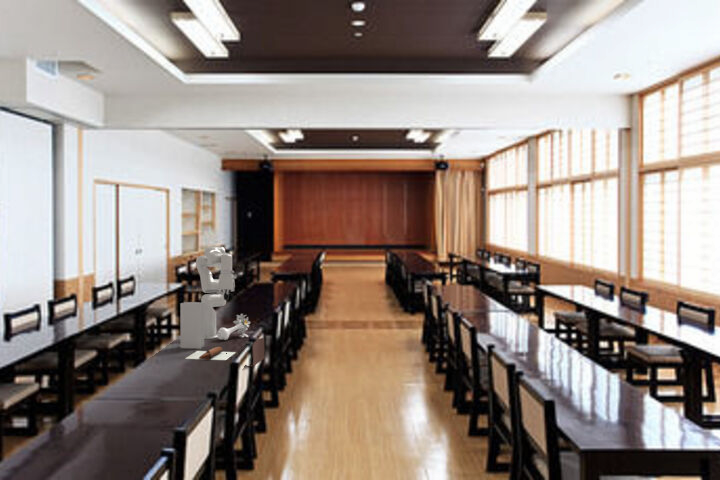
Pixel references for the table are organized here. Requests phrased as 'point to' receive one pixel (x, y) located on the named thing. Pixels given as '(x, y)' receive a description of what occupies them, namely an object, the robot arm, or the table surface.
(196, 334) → the tall grey upright box
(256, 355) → the letter holder
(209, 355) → the sunglasses case
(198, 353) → the paper sheet
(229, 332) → the flower vase
